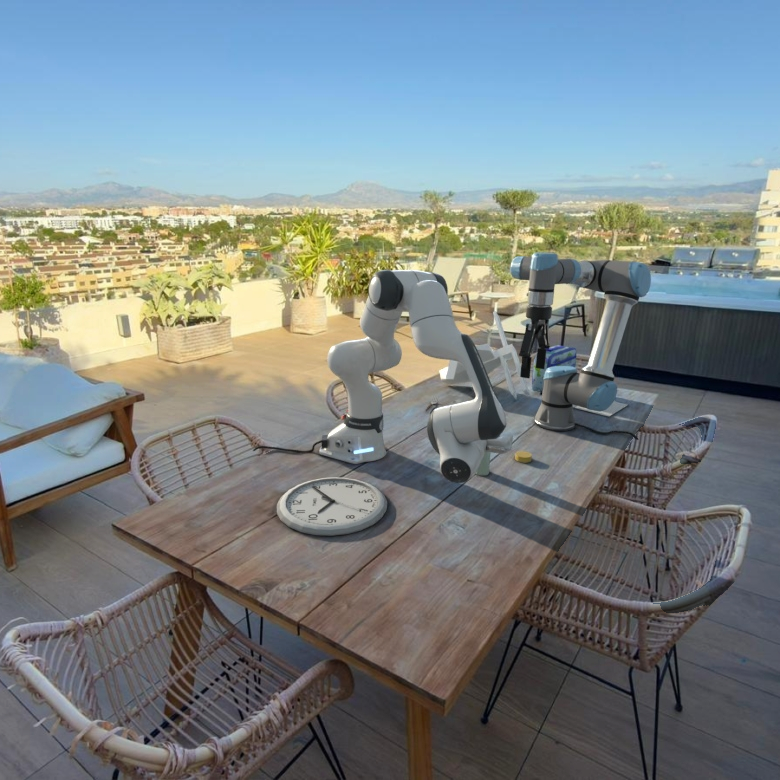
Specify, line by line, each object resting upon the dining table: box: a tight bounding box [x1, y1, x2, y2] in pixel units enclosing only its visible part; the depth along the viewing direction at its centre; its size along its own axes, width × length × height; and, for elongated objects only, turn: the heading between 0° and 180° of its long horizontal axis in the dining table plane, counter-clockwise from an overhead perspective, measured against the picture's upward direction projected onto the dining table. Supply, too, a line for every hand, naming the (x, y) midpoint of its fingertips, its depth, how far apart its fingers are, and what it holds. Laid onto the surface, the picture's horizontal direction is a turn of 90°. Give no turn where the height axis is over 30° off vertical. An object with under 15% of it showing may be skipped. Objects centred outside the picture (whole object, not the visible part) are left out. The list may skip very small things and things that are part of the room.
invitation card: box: [573, 400, 629, 418], centre depth 226 cm, size 21×1×15 cm
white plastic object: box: [438, 310, 531, 400], centre depth 245 cm, size 37×45×31 cm
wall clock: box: [276, 476, 388, 537], centre depth 142 cm, size 30×2×30 cm
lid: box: [514, 450, 533, 464], centre depth 173 cm, size 5×5×2 cm
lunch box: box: [531, 345, 577, 393], centre depth 245 cm, size 26×11×21 cm, turn 134°
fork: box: [425, 396, 439, 412], centre depth 222 cm, size 3×16×2 cm, turn 160°
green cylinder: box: [475, 452, 492, 476], centre depth 161 cm, size 4×4×19 cm
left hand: (478, 427), depth 147 cm, fingers open, 8 cm apart
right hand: (532, 372), depth 165 cm, fingers open, 13 cm apart
